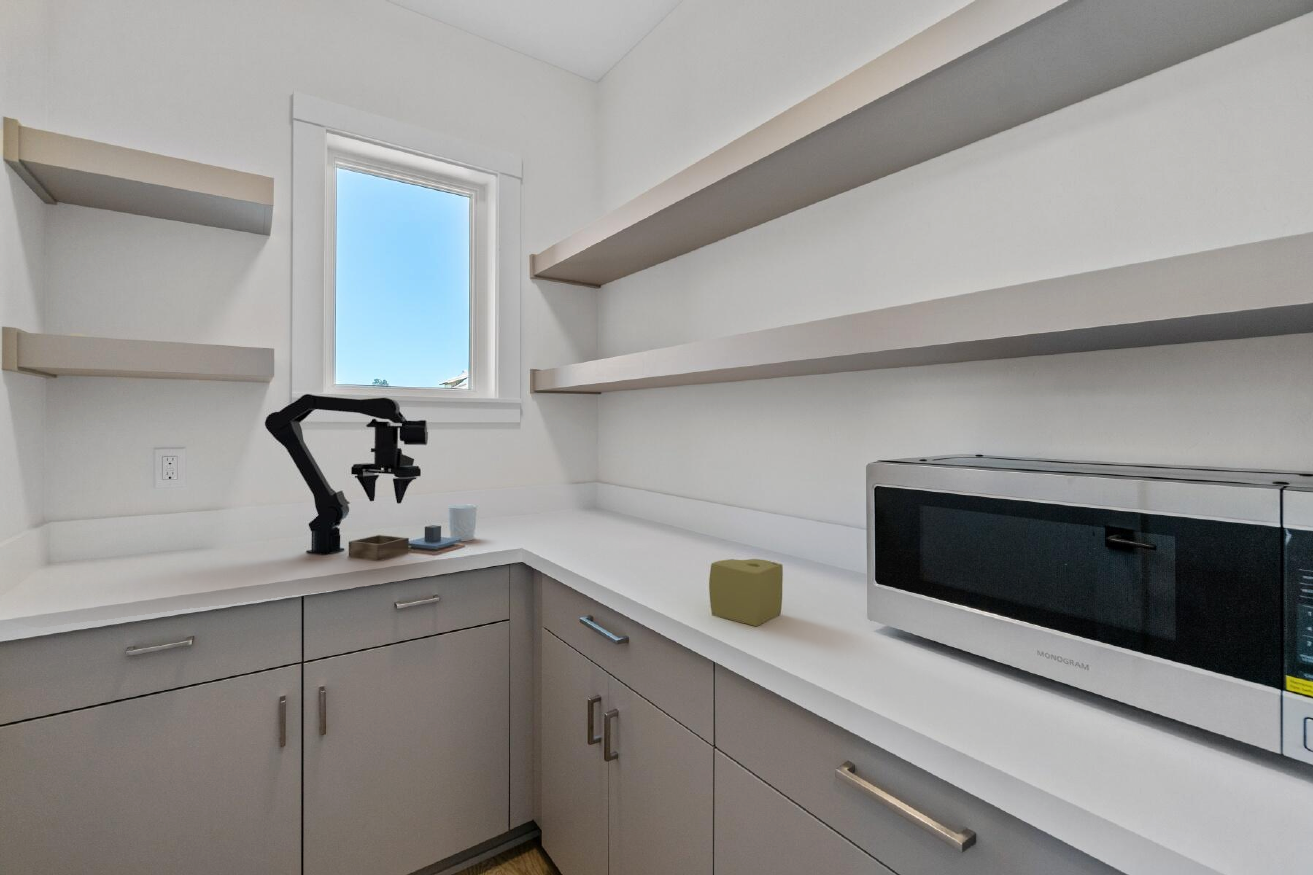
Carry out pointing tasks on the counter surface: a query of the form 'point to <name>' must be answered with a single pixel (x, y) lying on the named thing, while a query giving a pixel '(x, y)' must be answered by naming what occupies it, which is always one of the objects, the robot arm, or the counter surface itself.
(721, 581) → the cheese
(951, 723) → the counter surface
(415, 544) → the lid
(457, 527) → the white cup
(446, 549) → the mat
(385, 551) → the box
